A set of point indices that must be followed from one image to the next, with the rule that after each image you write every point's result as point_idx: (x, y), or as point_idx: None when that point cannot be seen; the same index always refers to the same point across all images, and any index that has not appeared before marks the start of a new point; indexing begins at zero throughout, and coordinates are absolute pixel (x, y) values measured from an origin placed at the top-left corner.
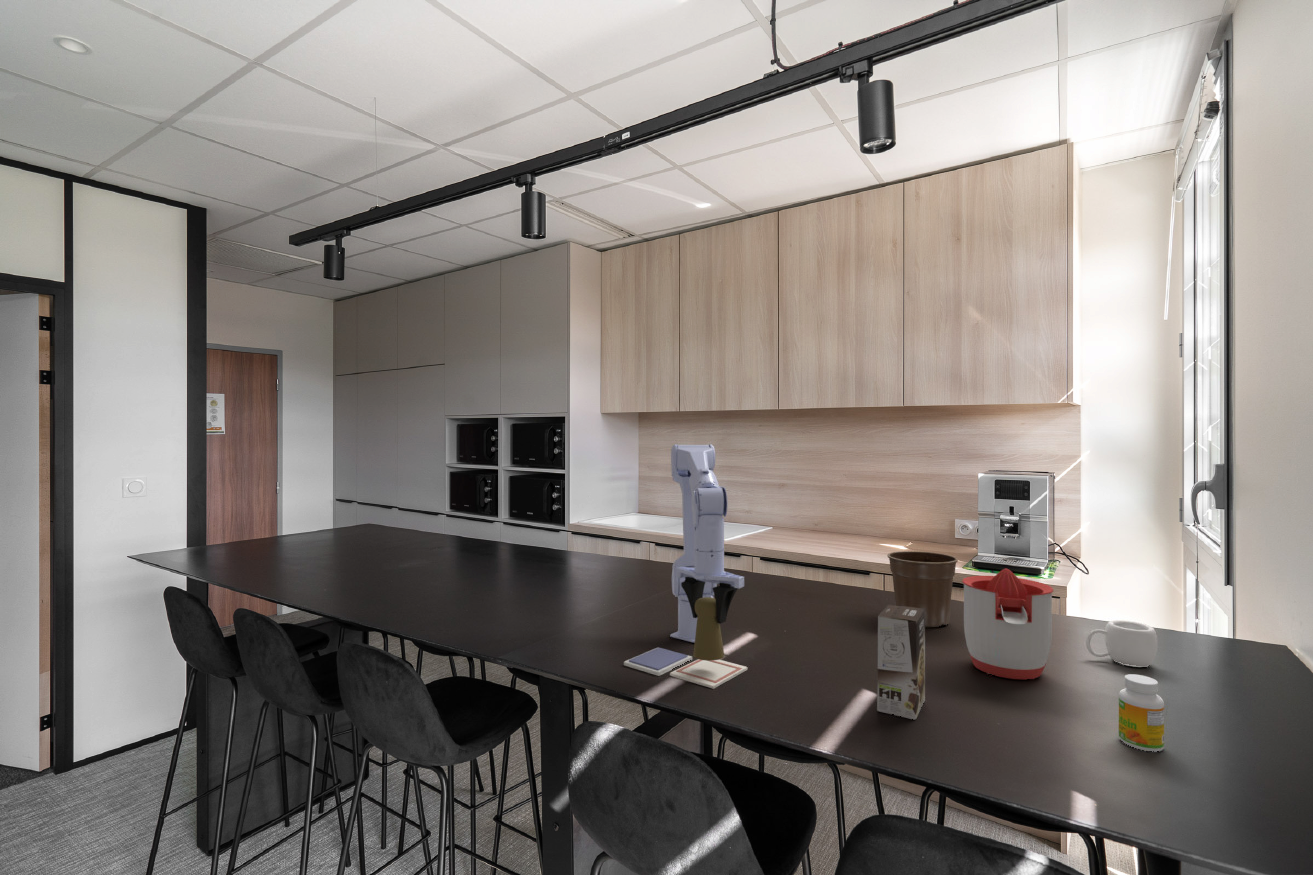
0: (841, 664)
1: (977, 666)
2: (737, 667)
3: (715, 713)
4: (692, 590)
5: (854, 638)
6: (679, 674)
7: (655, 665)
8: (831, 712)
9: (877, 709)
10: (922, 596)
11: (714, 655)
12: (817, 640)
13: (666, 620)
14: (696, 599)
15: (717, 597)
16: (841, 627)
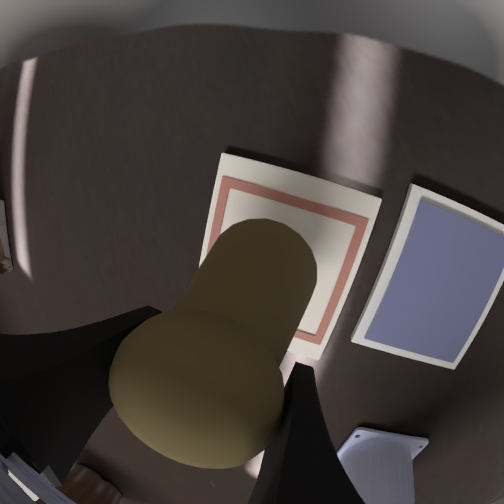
0: None
1: None
2: None
3: (175, 30)
4: (271, 496)
5: (119, 452)
6: (349, 198)
7: (437, 225)
8: (31, 164)
9: (2, 201)
10: (69, 488)
11: (220, 237)
12: (152, 452)
13: (435, 488)
14: (274, 452)
15: (38, 356)
16: (151, 483)
